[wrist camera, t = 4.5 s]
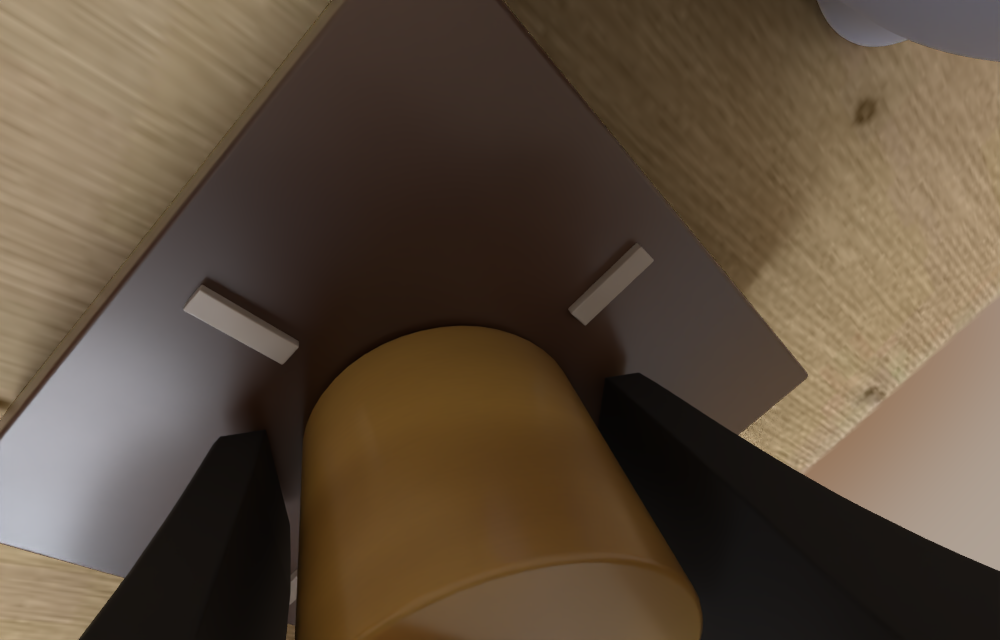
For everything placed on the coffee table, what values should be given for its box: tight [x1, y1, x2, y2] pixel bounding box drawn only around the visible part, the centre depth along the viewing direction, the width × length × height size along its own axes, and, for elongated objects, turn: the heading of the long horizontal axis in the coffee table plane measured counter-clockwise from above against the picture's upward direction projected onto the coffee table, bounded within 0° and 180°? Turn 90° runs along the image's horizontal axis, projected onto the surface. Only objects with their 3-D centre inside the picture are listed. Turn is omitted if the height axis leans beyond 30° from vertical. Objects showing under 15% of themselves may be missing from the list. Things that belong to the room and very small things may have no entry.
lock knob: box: [295, 326, 703, 640], centre depth 7 cm, size 4×4×4 cm
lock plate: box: [0, 0, 808, 625], centre depth 10 cm, size 10×10×3 cm
